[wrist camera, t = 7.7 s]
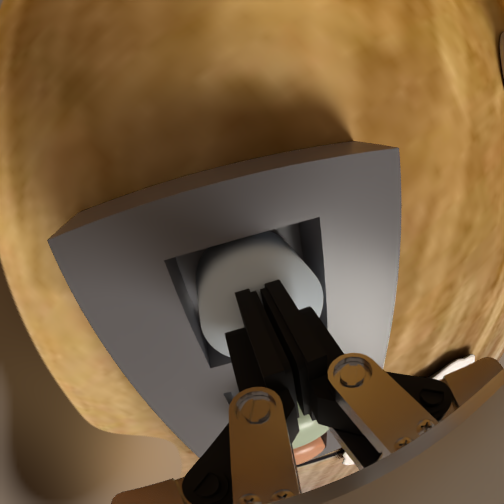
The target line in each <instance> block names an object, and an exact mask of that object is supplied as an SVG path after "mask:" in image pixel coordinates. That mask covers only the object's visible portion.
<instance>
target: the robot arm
mask: <svg viewBox="0 0 504 504" xmlns="http://www.w3.org/2000/svg"><path fill="white" fill-rule="evenodd" d="M500 58H501V66H502V71H503V77H504V32H503V33H502V34H501V38H500ZM264 285H265V288H262V289H260V292H261V297H262V301H263V305H262V303H261V300H260V298H259V296H258V294H257V292H256V291H252V292H250V289H249V288H248V289H245V290H242V291H238V292H235V296H236V300H237V303H238V307H239V310H240V313H241V317H242V320H243V324H244V327H243V328H240V329H237V330H233V331H230V332H226V333H225V338H226V342H227V346H228V350H229V354H230V358H231V362H232V366H233V370H234V374H235V378H236V382H237V386H238V390H239V393H238V394H237V395H236V396H235V397H234V398H233V399H232V401H231V403H230V405H229V423H228V424H227V425H226V427H225V428H224V429H223V431H222V432H221V433H220V434H219V436H218V437H217V438H216V439H215V441H214V442H213V443H212V444H211V446H210V447H209V448H208V449H207V450H206V452H205V453H204V454H203V455H202V456H201V458H200V459H199V460H198V461H197V462H196V463H195V465H194V466H193V467H192V468H191V469H190V470H189V472H188V473H187V474H186V476H185V477H183V478H180V479H177V480H175V479H173V478H172V479H169V480H166V481H163V482H160V483H156V484H152V485H149V486H145V487H141V488H137V489H134V490H129V491H124V492H121V493H119V494H117V495H116V496H115V497H114V498H113V499H112V502H111V504H504V369H503V367H502V366H501V364H500V363H499V362H498V361H497V360H496V359H494V358H491V357H485V358H482V359H480V360H477V361H475V362H473V363H471V364H469V365H467V366H465V367H463V368H461V369H458V370H456V371H454V372H451V373H449V374H447V375H444V376H443V379H440V380H437V379H432V378H424V377H417V376H410V375H403V374H397V373H391V372H385V371H384V370H383V369H382V368H381V367H380V366H379V365H378V364H377V363H376V362H375V361H374V360H373V359H371V358H370V357H368V356H367V355H364V354H361V353H348V354H344V353H343V351H342V350H341V348H340V347H339V346H338V344H337V343H336V341H335V340H334V338H333V337H332V335H331V334H330V333H329V331H328V330H327V328H326V327H325V325H324V324H323V323H322V321H321V320H320V318H319V317H318V315H317V314H316V313H315V311H314V310H313V309H312V307H310V306H309V307H306V308H303V309H300V310H299V309H298V308H297V306H296V305H295V303H294V301H293V300H292V298H291V297H290V295H289V294H288V292H287V290H286V289H285V287H284V286H283V284H282V283H281V281H280V280H279V279H278V280H275V281H272V282H268V283H265V284H264ZM263 306H264V307H263ZM297 402H298V404H299V407H300V409H301V411H302V413H303V415H304V416H305V415H308V414H309V415H310V417H311V419H312V421H314V420H317V422H318V424H320V425H324V426H327V427H328V429H329V431H330V432H331V433H332V435H333V436H334V437H335V439H336V440H337V441H338V443H339V444H340V445H341V447H342V448H343V449H344V450H345V452H346V453H347V454H348V456H349V457H350V458H351V460H352V461H353V462H354V463H355V465H356V466H357V467H358V468H359V470H360V471H357V472H355V473H353V474H351V475H349V476H346V477H344V478H342V479H339V480H337V481H335V482H332V483H330V484H327V485H325V486H322V487H319V488H317V489H314V490H311V491H308V492H305V493H302V492H301V486H300V481H299V476H298V471H297V466H296V461H295V456H294V450H293V445H292V443H293V441H294V440H295V438H296V436H297V434H298V433H299V431H300V430H299V424H298V418H299V410H298V404H297Z"/></svg>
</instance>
